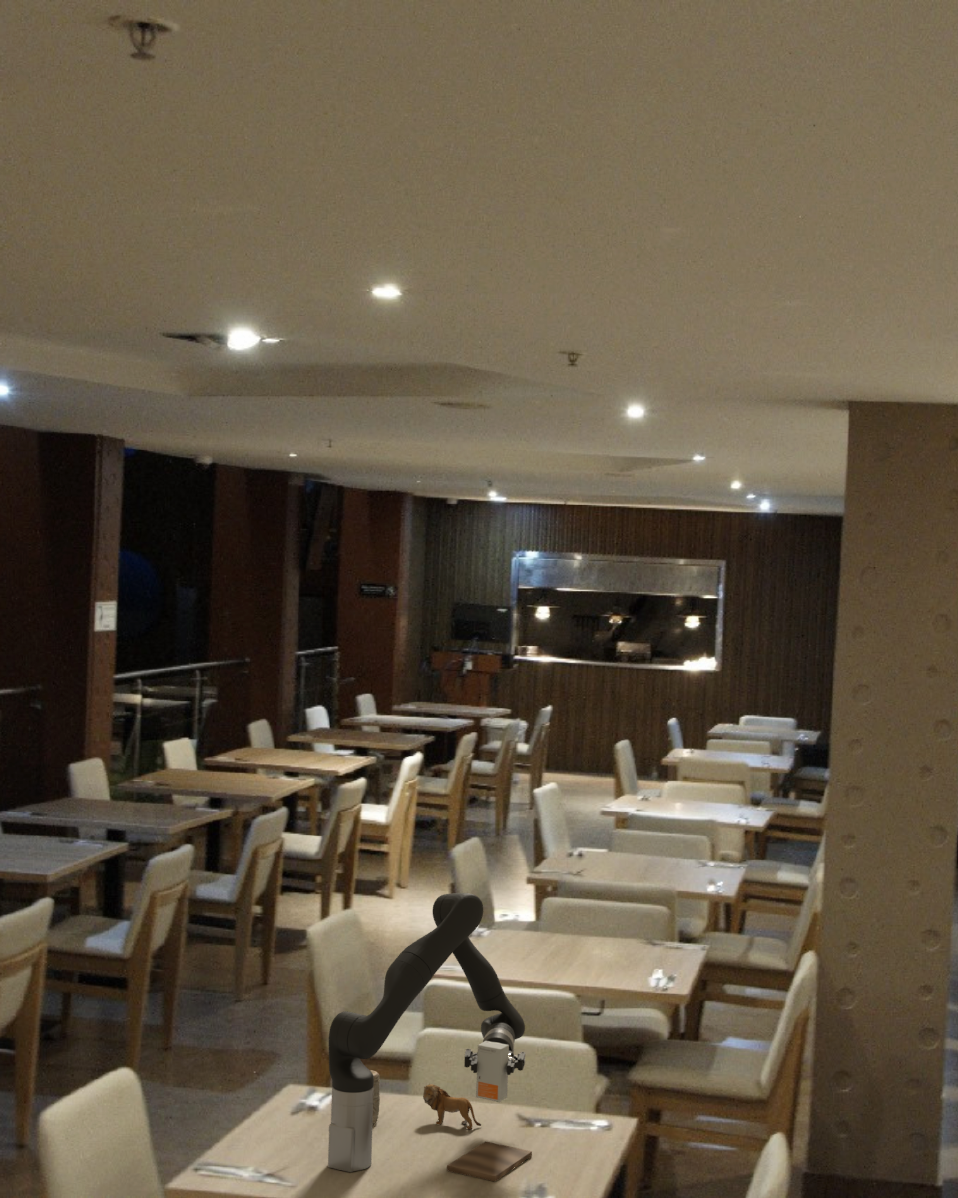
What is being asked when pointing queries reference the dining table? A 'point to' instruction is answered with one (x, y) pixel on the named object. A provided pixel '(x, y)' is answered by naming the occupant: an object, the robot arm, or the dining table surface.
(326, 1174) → the dining table surface
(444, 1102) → the lion figurine
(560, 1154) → the dining table surface
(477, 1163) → the walnut board
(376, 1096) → the carving
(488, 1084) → the skincare box
